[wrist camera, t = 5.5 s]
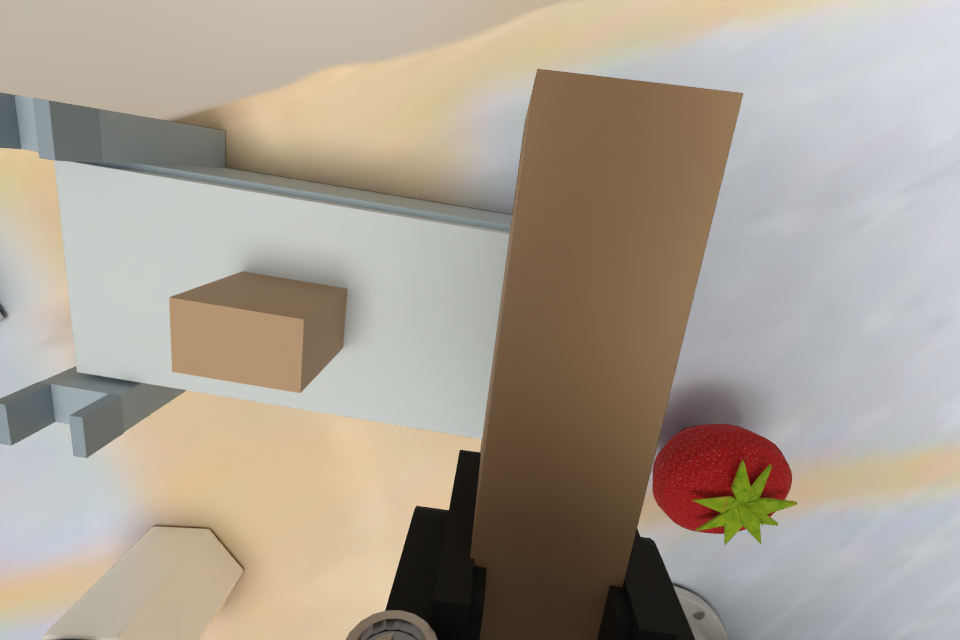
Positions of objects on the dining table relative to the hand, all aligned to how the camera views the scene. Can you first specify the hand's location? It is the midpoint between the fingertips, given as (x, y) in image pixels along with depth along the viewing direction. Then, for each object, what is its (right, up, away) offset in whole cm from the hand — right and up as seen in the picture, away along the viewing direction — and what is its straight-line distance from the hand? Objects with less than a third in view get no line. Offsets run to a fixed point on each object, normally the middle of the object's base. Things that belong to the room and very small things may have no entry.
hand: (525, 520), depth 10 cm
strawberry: (+13, -3, +22) cm, 26 cm away
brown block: (0, 0, +1) cm, 1 cm away
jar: (-24, -15, +28) cm, 40 cm away
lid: (-10, +5, +13) cm, 17 cm away
